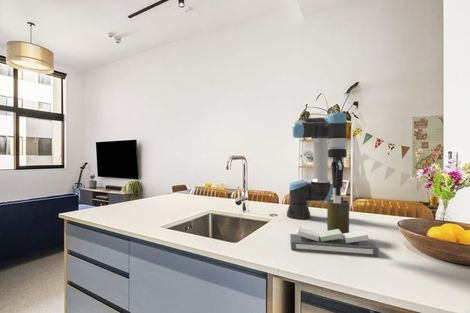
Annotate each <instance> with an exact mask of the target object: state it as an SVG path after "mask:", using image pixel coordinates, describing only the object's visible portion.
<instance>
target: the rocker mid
mask: <svg viewBox="0 0 470 313" xmlns="http://www.w3.org/2000/svg"><path fill="white" fill-rule="evenodd" d="M317 233H318V235H319V238H320V240H321V242H322V241H328V240H334V239H340V238H343V236H342V233H341V231H340V230H339V229H335V230H329V231H327V230H325V231H319V232H318V231H317Z"/></svg>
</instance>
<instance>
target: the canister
mask: <svg viewBox="0 0 470 313" xmlns="http://www.w3.org/2000/svg"><path fill="white" fill-rule="evenodd" d="M326 203H327V212H326V213H327V217H326V218H327V221H326V222H327V223H326V226H327V227H326V228H327V230H326V231H329V230H335V229H339V230H340V231H341V233H342V234H344V233H350V200H346V199H344V198H343V196H341V203H334V195H332V198H331V200H328V201H327V202H326Z"/></svg>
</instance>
